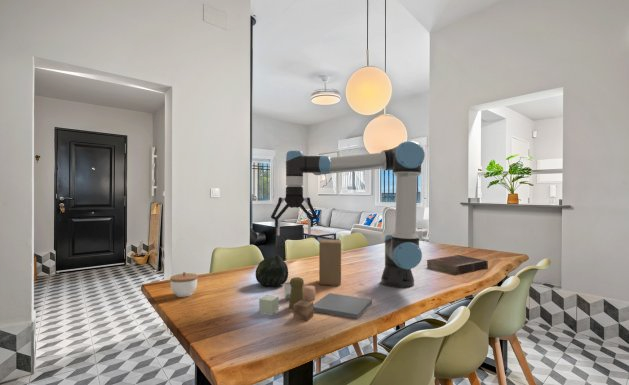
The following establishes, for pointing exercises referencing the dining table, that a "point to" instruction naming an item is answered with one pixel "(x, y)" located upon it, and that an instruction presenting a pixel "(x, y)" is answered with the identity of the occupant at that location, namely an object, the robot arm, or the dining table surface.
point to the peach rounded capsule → (309, 293)
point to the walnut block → (303, 310)
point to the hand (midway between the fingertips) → (294, 235)
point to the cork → (296, 291)
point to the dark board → (342, 305)
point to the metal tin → (287, 291)
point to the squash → (272, 271)
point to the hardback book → (457, 264)
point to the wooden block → (330, 262)
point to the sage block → (268, 304)
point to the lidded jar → (184, 284)
